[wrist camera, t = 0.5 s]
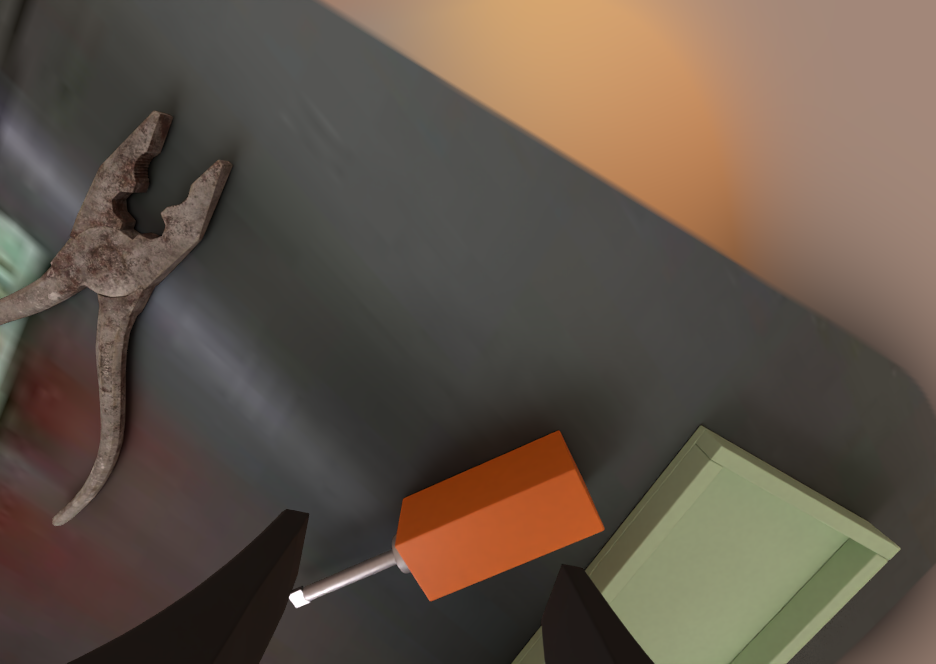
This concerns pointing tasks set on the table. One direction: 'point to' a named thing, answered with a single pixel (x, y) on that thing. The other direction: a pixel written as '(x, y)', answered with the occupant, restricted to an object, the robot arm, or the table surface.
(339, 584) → the screwdriver
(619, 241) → the table surface
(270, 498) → the table surface
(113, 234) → the pliers
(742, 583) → the tray
